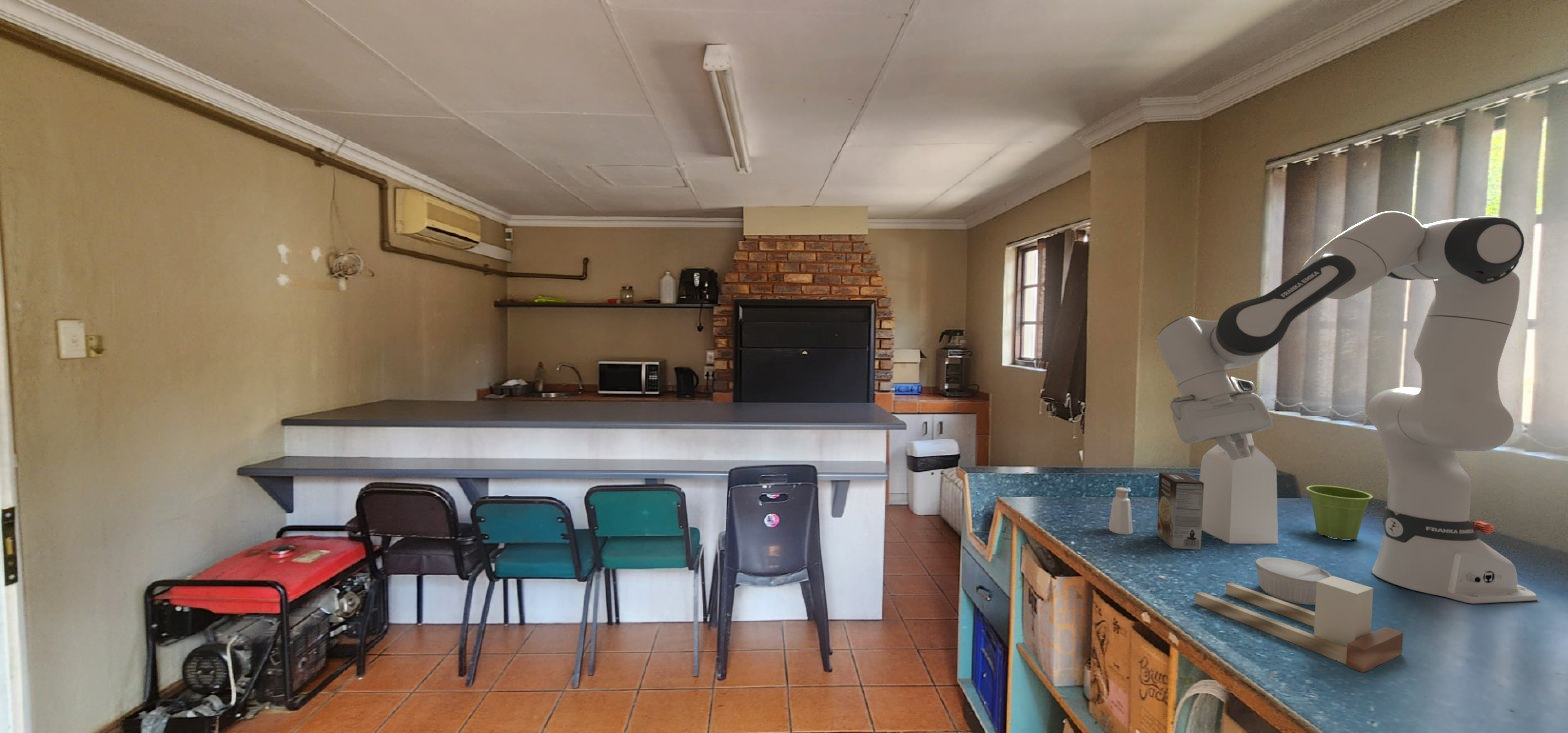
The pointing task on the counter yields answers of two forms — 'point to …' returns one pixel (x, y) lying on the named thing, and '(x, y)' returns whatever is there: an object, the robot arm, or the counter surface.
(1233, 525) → the milk
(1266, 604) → the keeper track
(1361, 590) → the block
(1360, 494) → the plant pot
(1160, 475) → the coffee box
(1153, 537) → the counter surface
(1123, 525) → the pepper shaker
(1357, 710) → the counter surface
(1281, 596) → the ramekin
